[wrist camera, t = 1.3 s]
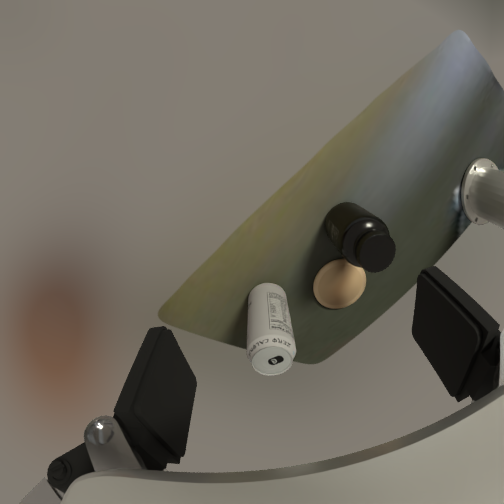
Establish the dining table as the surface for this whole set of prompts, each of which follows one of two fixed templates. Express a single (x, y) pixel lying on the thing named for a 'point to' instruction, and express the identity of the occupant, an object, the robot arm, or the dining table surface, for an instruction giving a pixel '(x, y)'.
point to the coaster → (339, 284)
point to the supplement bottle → (360, 237)
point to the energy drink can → (269, 330)
